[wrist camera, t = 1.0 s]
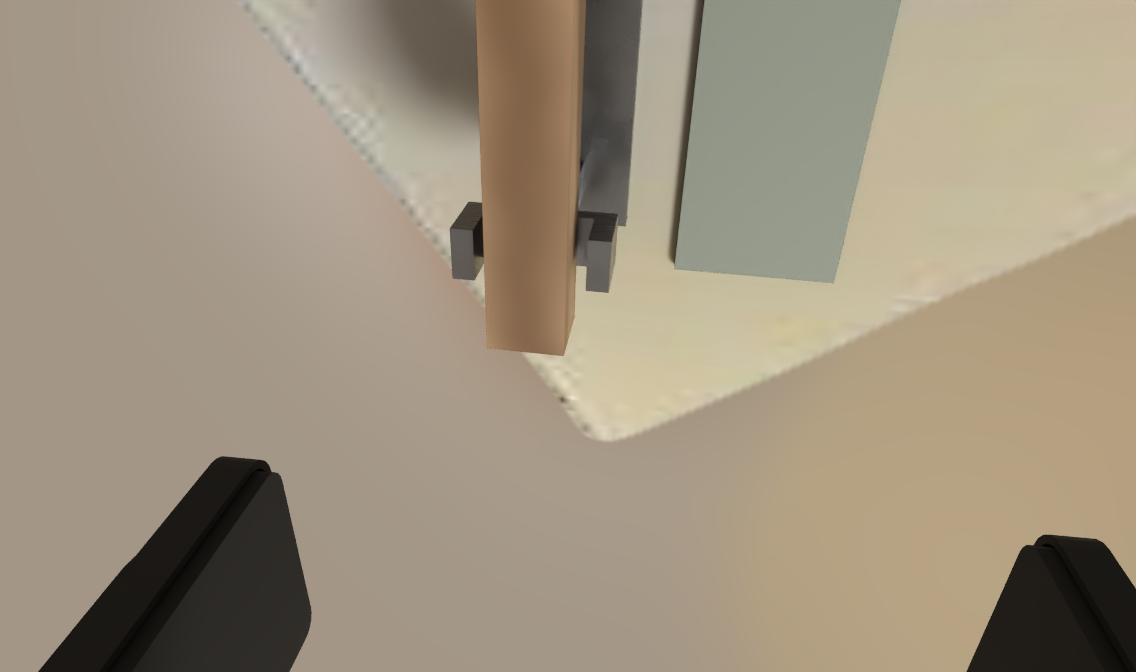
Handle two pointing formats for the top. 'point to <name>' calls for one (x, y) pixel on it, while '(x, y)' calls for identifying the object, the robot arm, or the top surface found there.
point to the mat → (779, 133)
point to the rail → (530, 167)
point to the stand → (587, 147)
